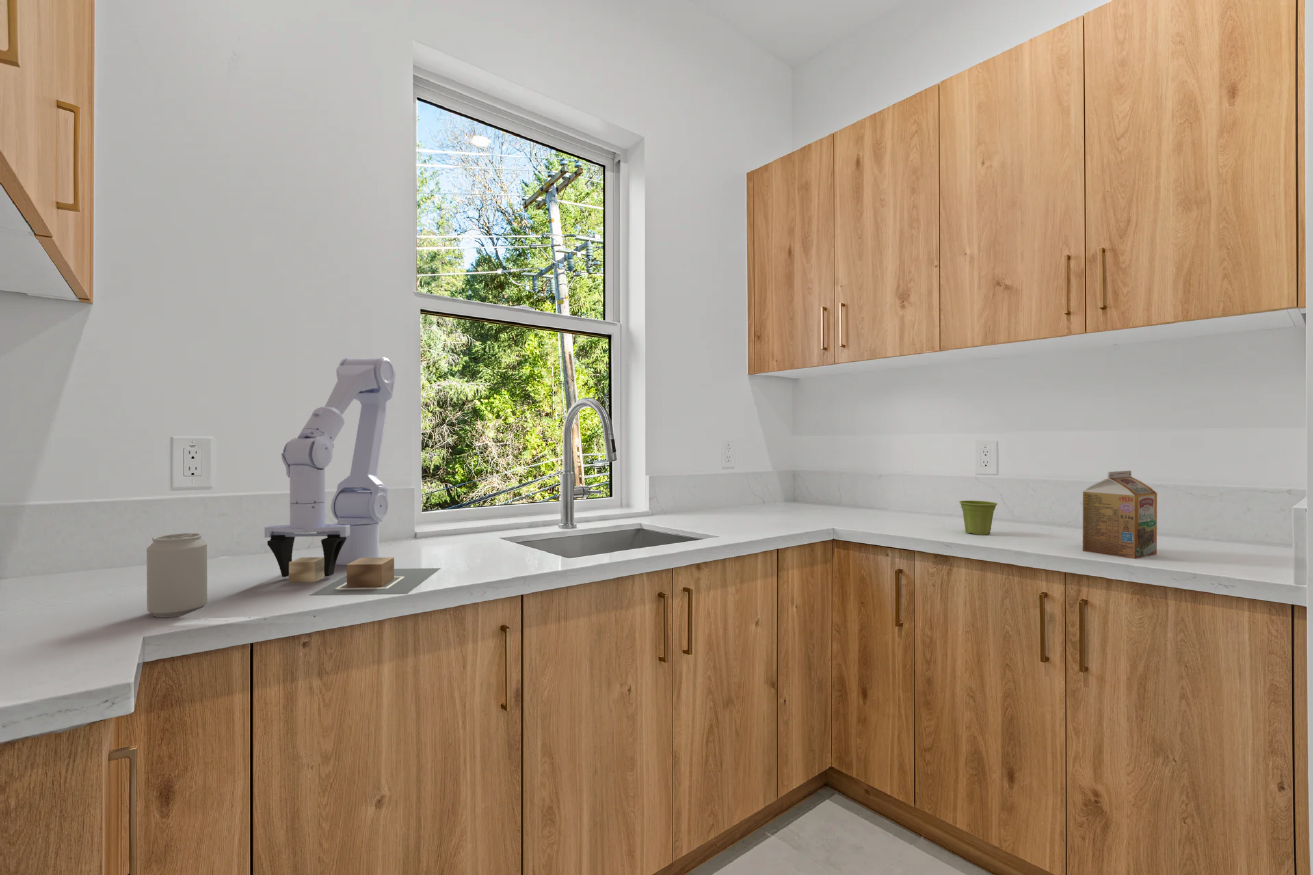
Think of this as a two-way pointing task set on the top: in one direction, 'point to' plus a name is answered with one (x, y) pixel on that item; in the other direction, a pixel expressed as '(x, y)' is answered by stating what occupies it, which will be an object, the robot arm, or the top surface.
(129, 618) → the top surface
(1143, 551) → the milk carton
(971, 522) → the plant pot
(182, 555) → the can
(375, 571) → the walnut block
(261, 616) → the top surface
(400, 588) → the gray mat
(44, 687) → the top surface
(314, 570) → the maple cube
